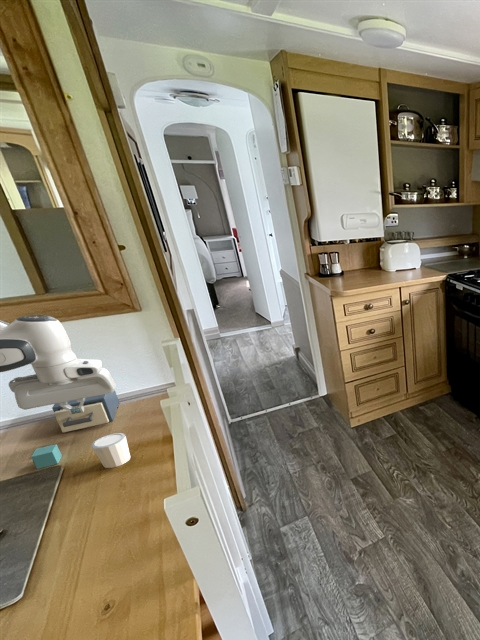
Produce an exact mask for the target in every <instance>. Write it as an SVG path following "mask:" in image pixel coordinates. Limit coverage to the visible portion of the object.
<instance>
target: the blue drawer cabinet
mask: <svg viewBox="0 0 480 640" xmlns="http://www.w3.org/2000/svg"><path fill="white" fill-rule="evenodd" d="M97 401H102V403H103V406H104V408H105V411H106V413H107V417H108V419H109V422H108V423H111V422H114V419H115V418H116V414H117V412H116V410H117V411H118V409H117V407H118V408H119V406H120V400H119V398H118V395H117V392H116V389H115V390H114V391H113V392H112V393H108V394H103V395H98V396H93V397H88V398H86V399H85V401H84V404H87V403H92V402H97ZM68 404H69V405H71V406H76V405H79V404H80V402H77V400H72V401H68ZM118 405H119V406H118ZM61 408H63V407H61V406H60V405H59V403H57V404H53V406H52V407H51V409H52V411H53V413H54V412H55V411H60V409H61Z"/></svg>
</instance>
